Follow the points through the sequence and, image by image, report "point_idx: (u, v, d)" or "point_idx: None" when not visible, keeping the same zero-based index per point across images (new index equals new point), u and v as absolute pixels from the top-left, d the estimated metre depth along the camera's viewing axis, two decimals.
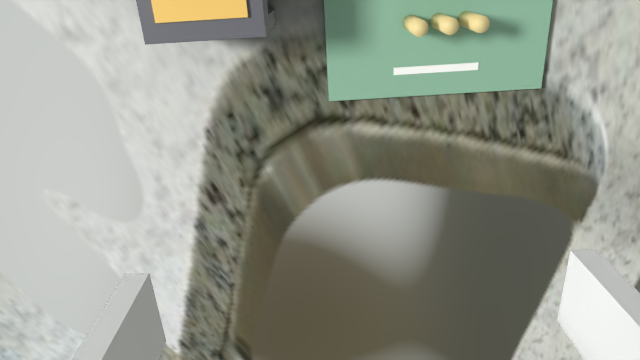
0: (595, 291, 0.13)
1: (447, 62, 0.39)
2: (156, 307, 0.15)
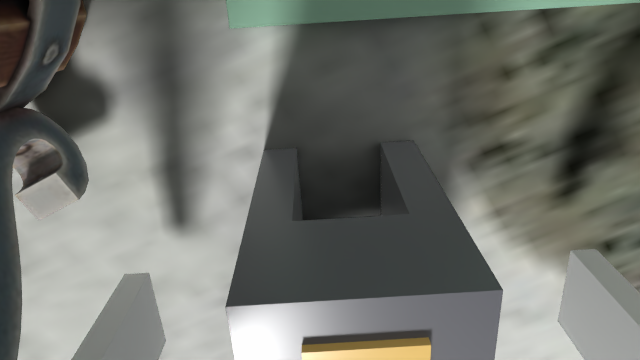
0: (595, 291, 0.13)
1: None
2: (156, 307, 0.15)
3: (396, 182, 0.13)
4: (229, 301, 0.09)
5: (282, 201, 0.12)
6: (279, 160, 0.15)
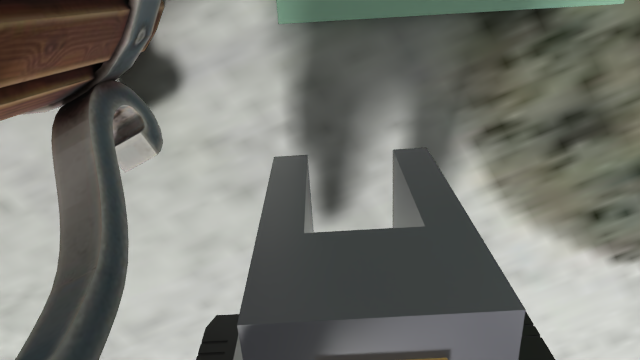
0: None
1: None
2: None
3: (410, 192, 0.13)
4: (241, 319, 0.08)
5: (293, 212, 0.12)
6: (289, 167, 0.15)
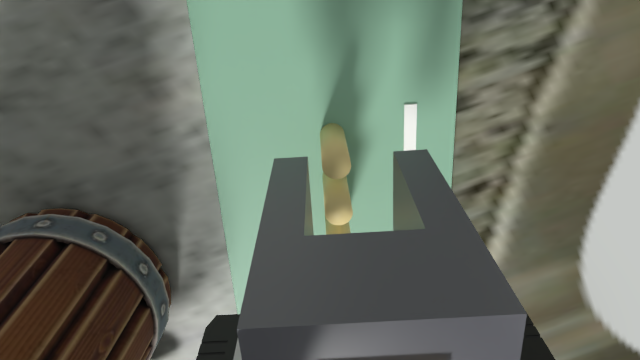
0: None
1: None
2: None
3: (410, 194, 0.13)
4: (240, 323, 0.08)
5: (293, 214, 0.12)
6: (289, 169, 0.15)
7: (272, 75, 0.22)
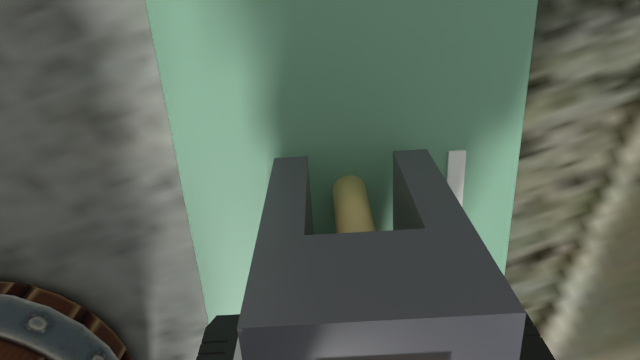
0: None
1: None
2: None
3: (410, 193, 0.13)
4: (240, 322, 0.08)
5: (294, 213, 0.12)
6: (289, 168, 0.15)
7: (268, 112, 0.16)
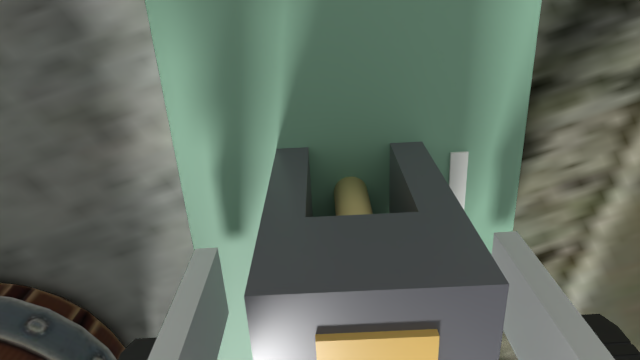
0: (509, 268, 0.14)
1: None
2: (222, 280, 0.16)
3: (405, 181, 0.13)
4: (247, 291, 0.09)
5: (295, 198, 0.13)
6: (291, 158, 0.15)
7: (269, 113, 0.16)
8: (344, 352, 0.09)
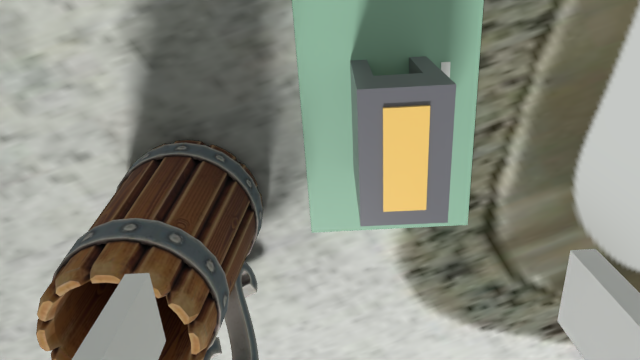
0: (595, 291, 0.13)
1: None
2: (156, 307, 0.15)
3: (417, 67, 0.28)
4: (357, 88, 0.24)
5: (367, 72, 0.28)
6: (359, 62, 0.30)
7: (347, 40, 0.31)
8: (393, 113, 0.24)
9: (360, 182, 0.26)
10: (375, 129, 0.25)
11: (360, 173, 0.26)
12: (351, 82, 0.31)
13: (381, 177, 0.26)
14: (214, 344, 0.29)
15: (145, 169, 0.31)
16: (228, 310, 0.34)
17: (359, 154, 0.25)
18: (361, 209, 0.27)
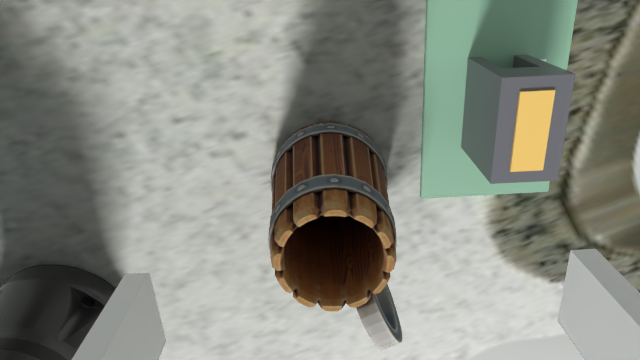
0: (595, 291, 0.13)
1: None
2: (156, 307, 0.15)
3: (529, 62, 0.37)
4: (501, 77, 0.32)
5: (493, 65, 0.36)
6: (478, 59, 0.39)
7: (467, 42, 0.39)
8: (527, 96, 0.33)
9: (495, 149, 0.34)
10: (511, 108, 0.33)
11: (496, 141, 0.34)
12: (471, 74, 0.39)
13: (511, 145, 0.34)
14: None
15: (309, 142, 0.39)
16: None
17: (497, 127, 0.34)
18: (493, 170, 0.35)
